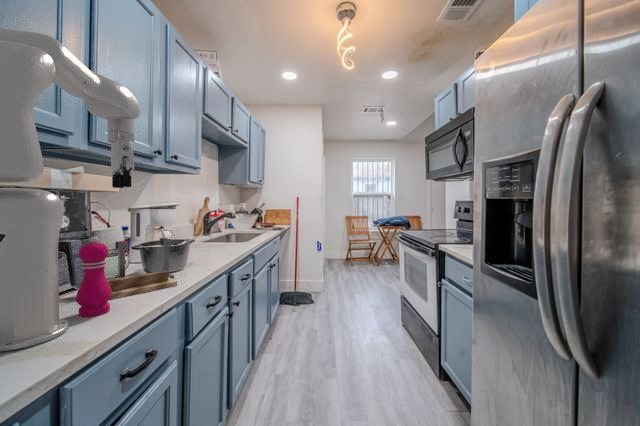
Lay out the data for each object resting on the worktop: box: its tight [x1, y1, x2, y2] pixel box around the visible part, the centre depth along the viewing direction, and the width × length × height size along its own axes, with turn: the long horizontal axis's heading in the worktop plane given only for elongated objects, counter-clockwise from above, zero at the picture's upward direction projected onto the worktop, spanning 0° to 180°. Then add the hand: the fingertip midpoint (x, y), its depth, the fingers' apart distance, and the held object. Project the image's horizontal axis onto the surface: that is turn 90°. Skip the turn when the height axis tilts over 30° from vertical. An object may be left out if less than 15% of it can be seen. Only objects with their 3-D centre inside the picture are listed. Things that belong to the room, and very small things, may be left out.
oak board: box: [108, 277, 178, 301], centre depth 89 cm, size 22×8×2 cm, turn 139°
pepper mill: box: [75, 236, 112, 318], centre depth 70 cm, size 7×7×20 cm
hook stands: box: [114, 237, 175, 280], centre depth 99 cm, size 18×6×15 cm, turn 139°
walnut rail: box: [106, 270, 168, 291], centre depth 89 cm, size 18×2×3 cm, turn 140°
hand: (121, 187), depth 95 cm, fingers open, 9 cm apart
